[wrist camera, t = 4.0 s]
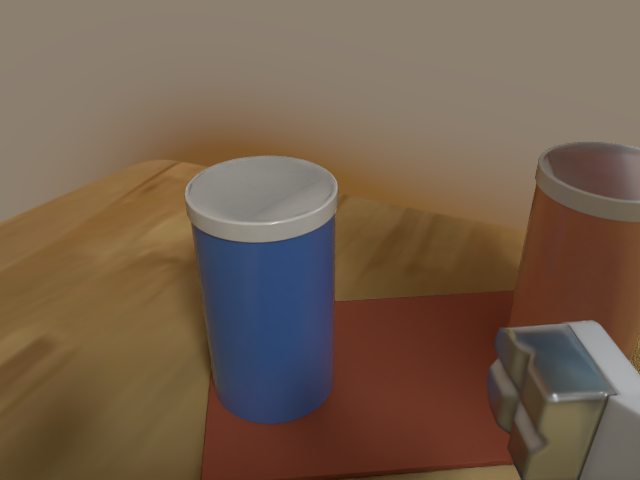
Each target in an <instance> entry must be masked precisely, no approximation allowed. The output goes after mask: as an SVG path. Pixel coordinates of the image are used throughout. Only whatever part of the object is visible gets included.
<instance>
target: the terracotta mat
mask: <svg viewBox="0 0 640 480" xmlns="http://www.w3.org/2000/svg"><path fill="white" fill-rule="evenodd" d="M513 294H514V291H500V292H483V293H467V294H451V295H435V296H418V297H402V298H386V299H369V300H353V301H337V302H335V329H334V383H333V387H332V390H331V392H330V394H329V396H328V397H327V398H326V400H325V401H324V402H323V403H322V404H321V405H320V406H319V407H318V408H317V409H316V410H314V411H313V412H311V413H310V414H308V415H306V416H304V417H302V418H299V419H297V420H294V421H290V422H286V423H279V424H261V423H255V422H250V421H247V420H244V419H241V418H239V417H237V416H235V415H234V414H232V413H230V412H229V411H228V410H227V409H226V408H225V407H224V406H223V405H222V404H221V403H220V401H219V399H218V398H217V395H216V393H215V388H214V381H213V374H212V368H211V378H210V389H209V399H208V409H207V420H206V430H205V441H204V451H203V462H202V472H201V480H326V479H338V478H350V477H362V476H374V475H386V474H398V473H410V472H422V471H434V470H446V469H458V468H470V467H482V466H494V465H506V464H514V462H513V460H512V458H511V456H510V454H509V451H508V449H507V446H508V442H509V438H510V434H508V433H507V432H506V431H504V430H503V429H502V428H500V427H499V426H497V424H496V422H495V419H494V417H493V415H492V412H491V409H490V405H489V401H488V392H487V379H488V373H489V367H490V366H491V365H492V364H493V363H494V362H495V361H496V360H497V359H498V358H499V356H498V354H497V352H496V350H495V348H494V342H495V338H496V334H497V332H498V331H499V329H500V327H507V323H508V318H509V313H510V308H511V304H512V299H513Z"/></svg>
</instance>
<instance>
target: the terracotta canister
mask: <svg viewBox="0 0 640 480" xmlns="http://www.w3.org/2000/svg"><path fill="white" fill-rule="evenodd" d="M535 179H536V188H535V193H534V197H533V202H532V207H531V212H530V217H529V222H528V226H527V231H526V236H525V241H524V246H523V250H522V255H521V260H520V265H519V270H518V275H517V279H516V284H515V289H514V294H513V299H512V304H511V308H510V313H509V318H508V323H507V327H511V326H525V325H540V324H555V323H560V324H561V323H562V322H573V321H586V320H593V321H595V322H597V323H599V324H600V325H601V326H602V328H603V329H604V330H605V331H606V333H607V334H608V335H609V336H610V338H611V339H612V340H613V341H614V343H615V344H616V345H617V347H618V348H619V349H620V350H621V352H622V353H623V354H624V355H625V357H626V358H627V359H628V360H629V362H630V363H631V361H632V358H633V355H634V353H635V350H636V347H637V344H638V342H639V339H640V148H636V147H631V146H626V145H620V144H613V143H602V142H575V143H567V144H562V145H558V146H555V147H552V148H549V149H548V150H546V151H545V152H543V153H542V154H541V156H540V158H539V161H538V166H537V171H536V176H535Z"/></svg>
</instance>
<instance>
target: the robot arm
mask: <svg viewBox="0 0 640 480" xmlns="http://www.w3.org/2000/svg"><path fill="white" fill-rule="evenodd" d="M494 348H495V350H496V352H497V354H498V356H499V358H498V359H497V360H496V361H495V362H494V363H493V364H492V365H491V366H490V367H489V373H488V379H487V392H488V401H489V405H490V409H491V412H492V415H493V417H494V419H495V422H496V424H497V426H499V427H500V428H502V429H503V430H504V431H506V432H507V433H508V434H510V438H509V442H508V446H507V449H508V451H509V454H510V456H511V458H512V460H513V462H514V465H515V467H516V469H517V471H518V473H519V476H520V478H521V480H640V374H639V373H638V372H637V371H636V369H635V368H634V367H633V366H632V364H631V363H630V362H629V360H628V359H627V358H626V357H625V355H624V354H623V353H622V352H621V350H620V349H619V348H618V347H617V345H616V344H615V343H614V341H613V340H612V339H611V338H610V336H609V335H608V334H607V333H606V331H605V330H604V329H603V328H602V326H601V325H600V324H599V323H597V322H595V321H593V320H586V321H573V322H562V323H561V324H560V323H555V324H540V325H525V326H511V327H500V329H499V331H498V332H497V334H496V338H495V342H494Z"/></svg>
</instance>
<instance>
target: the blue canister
mask: <svg viewBox="0 0 640 480" xmlns="http://www.w3.org/2000/svg"><path fill="white" fill-rule="evenodd" d="M184 196H185V203H186V210H187V215H188V217H189V219H190V221H191V226H192V233H193V240H194V247H195V254H196V261H197V268H198V276H199V283H200V290H201V297H202V304H203V311H204V318H205V325H206V332H207V339H208V346H209V353H210V360H211V367H212V374H213V381H214V388H215V393H216V395H217V398H218V399H219V401H220V403H221V404H222V405H223V406H224V407H225V408H226V409H227V410H228V411H229V412H230V413H232V414H234V415H235V416H237V417H239V418H241V419H244V420H247V421H250V422H255V423H261V424H279V423H286V422H290V421H294V420H297V419H299V418H302V417H304V416H306V415H308V414H310V413H311V412H313V411H314V410H316V409H317V408H318V407H319V406H320V405H321V404H322V403H323V402H324V401H325V400H326V398H327V397H328V396H329V394H330V392H331V390H332V387H333V383H334V329H335V212H336V209H337V206H338V184H337V181H336V179H335V177H334V176H333V175H332V174H331V173H330V172H329V171H328V170H326V169H325V168H323V167H321V166H319V165H317V164H315V163H312V162H309V161H306V160H301V159H297V158H291V157H283V156H254V157H245V158H240V159H234V160H230V161H226V162H223V163H219V164H217V165H214V166H211V167H209V168H207V169H205V170H203V171H202V172H200V173H198V174H197V175H196V176H195V177H193V178H192V179H191V180H190V182H189V183H188V185H187V187H186V189H185V195H184Z"/></svg>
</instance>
